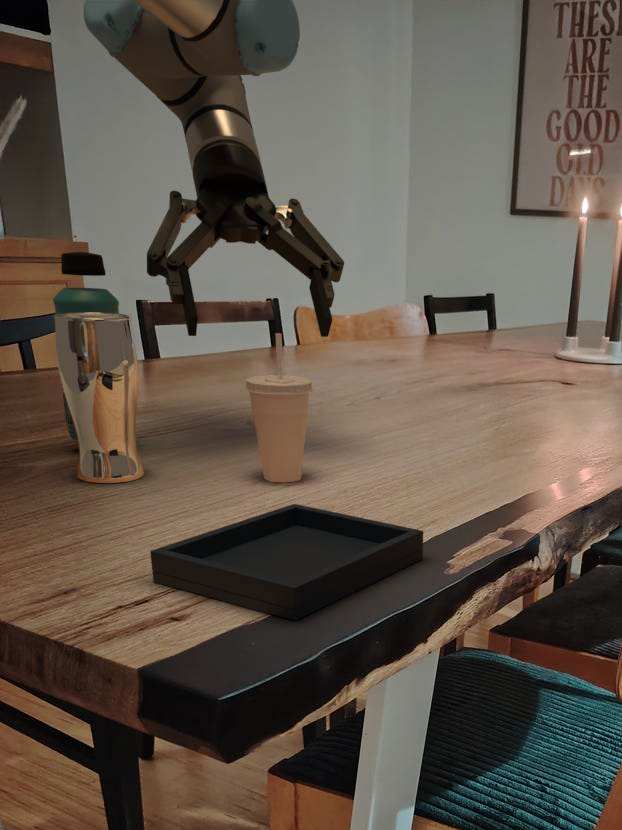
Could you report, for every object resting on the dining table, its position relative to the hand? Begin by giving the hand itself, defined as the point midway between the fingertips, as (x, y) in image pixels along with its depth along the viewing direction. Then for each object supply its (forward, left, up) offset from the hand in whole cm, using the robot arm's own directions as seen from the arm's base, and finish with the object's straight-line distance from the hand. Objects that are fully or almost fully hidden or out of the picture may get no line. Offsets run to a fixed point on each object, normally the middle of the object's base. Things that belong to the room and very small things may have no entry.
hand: (261, 328), depth 94 cm
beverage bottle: (-14, +11, -14) cm, 23 cm away
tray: (-11, -34, -14) cm, 38 cm away
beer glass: (-16, -1, -14) cm, 22 cm away
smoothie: (-1, -8, -14) cm, 16 cm away
